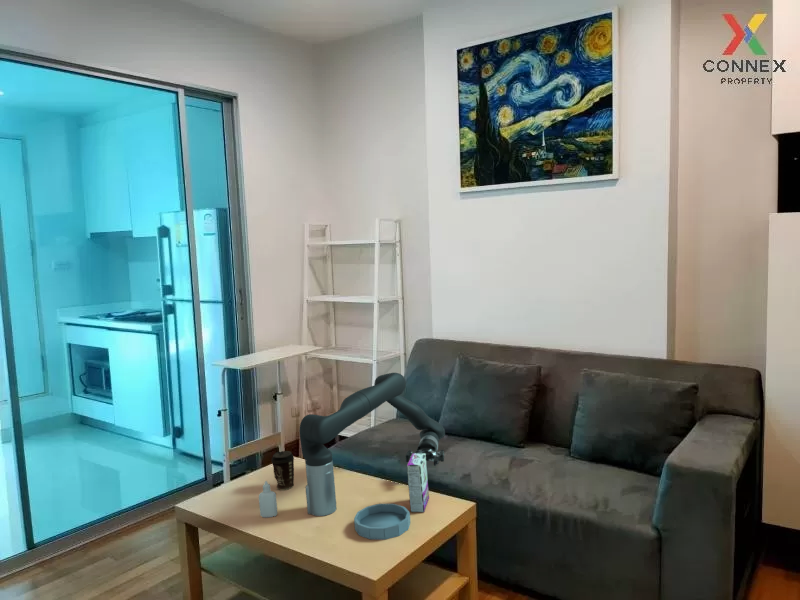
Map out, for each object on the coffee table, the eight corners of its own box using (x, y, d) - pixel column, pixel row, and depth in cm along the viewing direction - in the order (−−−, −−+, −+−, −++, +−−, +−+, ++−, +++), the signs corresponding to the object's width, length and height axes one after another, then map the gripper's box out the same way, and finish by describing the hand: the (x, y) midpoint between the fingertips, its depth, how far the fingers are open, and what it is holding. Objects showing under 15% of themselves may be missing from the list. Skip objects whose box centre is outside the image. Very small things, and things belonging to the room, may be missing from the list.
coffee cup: (278, 482, 229) (275, 449, 228) (299, 481, 228) (296, 449, 227) (270, 491, 220) (267, 458, 219) (292, 491, 219) (289, 457, 218)
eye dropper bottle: (267, 511, 203) (264, 477, 202) (279, 514, 200) (276, 480, 199) (258, 516, 200) (255, 482, 199) (270, 519, 197) (267, 485, 196)
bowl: (350, 539, 179) (349, 528, 179) (362, 513, 196) (361, 503, 196) (405, 539, 176) (404, 528, 176) (413, 513, 193) (412, 503, 193)
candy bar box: (415, 498, 205) (412, 452, 204) (429, 498, 204) (426, 452, 203) (409, 512, 194) (406, 464, 193) (424, 513, 193) (421, 464, 192)
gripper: (409, 438, 229) (402, 453, 213) (445, 438, 227) (441, 453, 211) (410, 457, 230) (404, 473, 214) (446, 456, 228) (443, 473, 212)
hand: (423, 463), depth 213 cm, fingers open, 8 cm apart
